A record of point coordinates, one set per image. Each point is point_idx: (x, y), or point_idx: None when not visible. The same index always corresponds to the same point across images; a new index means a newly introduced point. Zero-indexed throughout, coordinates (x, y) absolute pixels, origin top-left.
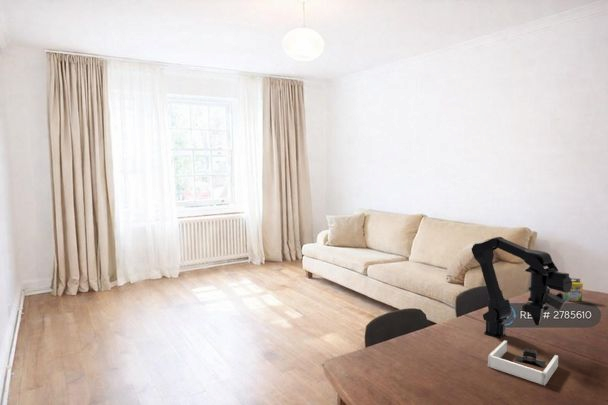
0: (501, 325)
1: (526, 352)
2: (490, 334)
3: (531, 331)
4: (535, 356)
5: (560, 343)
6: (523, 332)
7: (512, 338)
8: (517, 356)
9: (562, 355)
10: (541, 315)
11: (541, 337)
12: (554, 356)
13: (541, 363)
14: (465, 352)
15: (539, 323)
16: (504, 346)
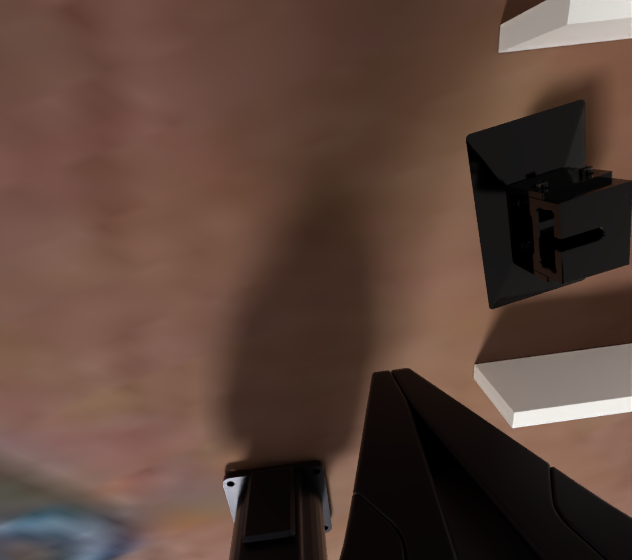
0: (296, 545)
1: (622, 247)
2: (327, 505)
3: (13, 402)
4: (608, 178)
5: (8, 178)
6: (89, 423)
7: (254, 421)
8: (514, 294)
9: (246, 74)
10: (449, 536)
11: (47, 320)
12: (613, 14)
13: (532, 140)
14: (625, 469)
15: (385, 383)
16: (555, 389)
